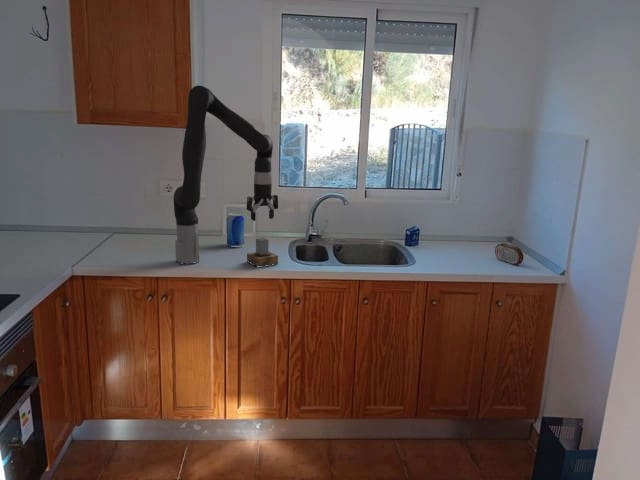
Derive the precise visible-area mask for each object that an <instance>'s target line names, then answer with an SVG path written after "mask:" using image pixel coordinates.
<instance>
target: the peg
mask: <svg viewBox="0 0 640 480" xmlns="http://www.w3.org/2000/svg"><path fill="white" fill-rule="evenodd" d="M268 251H269V239H268V238H266V237H260V238H259V237H258V238H255V252H256V256H258V257H264V256H268Z"/></svg>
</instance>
